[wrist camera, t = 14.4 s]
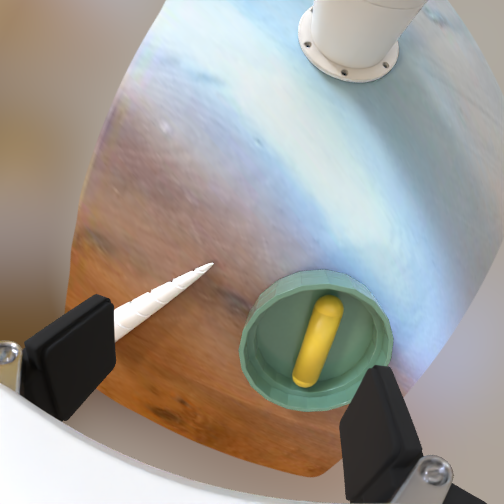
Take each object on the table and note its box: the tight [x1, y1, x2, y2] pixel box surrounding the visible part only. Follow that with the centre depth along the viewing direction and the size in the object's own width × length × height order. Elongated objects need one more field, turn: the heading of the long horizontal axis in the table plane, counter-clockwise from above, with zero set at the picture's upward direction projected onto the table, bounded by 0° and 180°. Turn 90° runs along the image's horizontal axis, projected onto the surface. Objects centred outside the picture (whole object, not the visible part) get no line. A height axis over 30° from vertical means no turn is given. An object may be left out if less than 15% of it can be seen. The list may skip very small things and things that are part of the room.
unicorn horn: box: [114, 263, 214, 342], centre depth 37 cm, size 5×24×5 cm, turn 119°
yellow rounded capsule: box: [292, 295, 344, 388], centre depth 35 cm, size 14×4×4 cm, turn 169°
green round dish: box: [239, 269, 393, 412], centre depth 35 cm, size 18×18×6 cm
